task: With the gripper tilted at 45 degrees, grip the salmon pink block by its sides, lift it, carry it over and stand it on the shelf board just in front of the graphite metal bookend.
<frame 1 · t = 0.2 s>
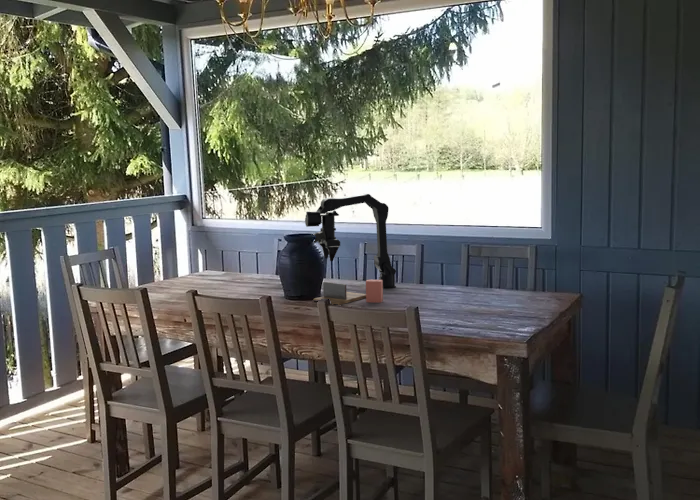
hand: (328, 259, 321), 15 cm above the table, tool pointing down, fingers open, 9 cm apart
salmon pink block: (374, 301, 298), on the table
bookend: (334, 290, 300), on the shelf board, point 4 cm above the table
shelf board: (342, 298, 304), on the table
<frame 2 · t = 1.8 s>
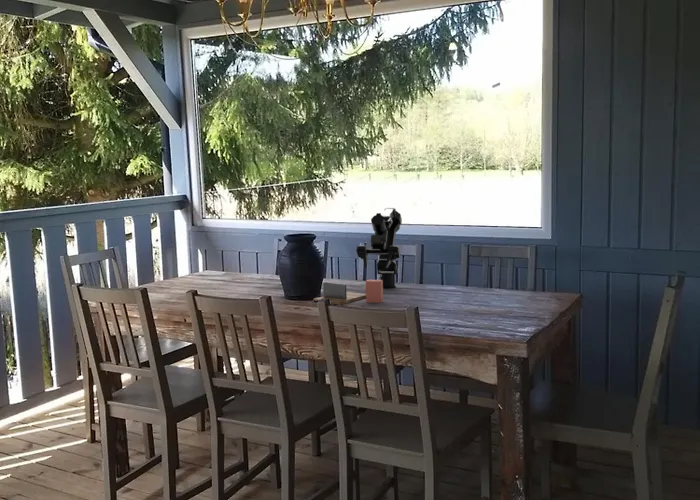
hand: (375, 267, 303), 13 cm above the table, tool tilted 45°, fingers open, 9 cm apart
nothing on the table moved.
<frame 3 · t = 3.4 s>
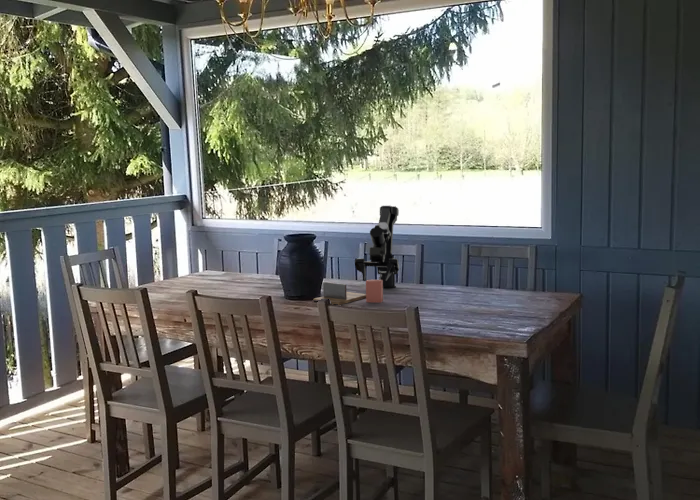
hand: (374, 280, 297), 9 cm above the table, tool tilted 45°, fingers open, 9 cm apart
nothing on the table moved.
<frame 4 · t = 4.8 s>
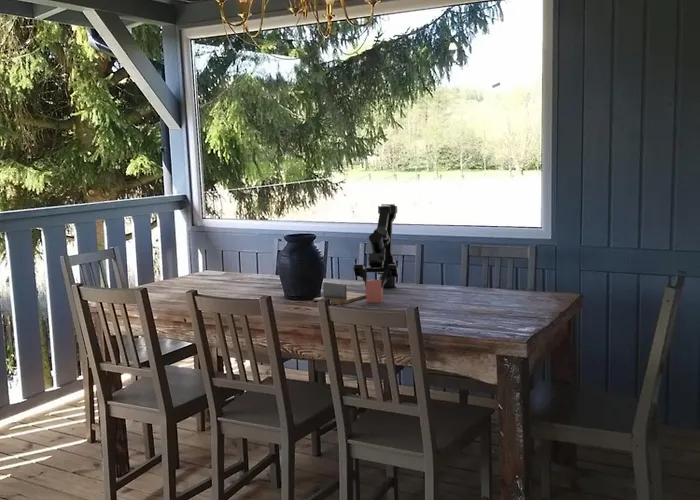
hand: (373, 286, 295), 7 cm above the table, tool tilted 45°, fingers closed on salmon pink block, 6 cm apart
salmon pink block: (374, 301, 298), on the table, touching gripper
everything else where it was.
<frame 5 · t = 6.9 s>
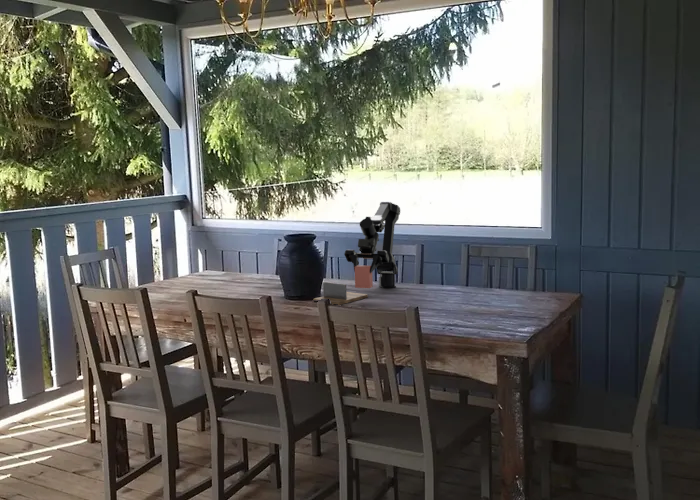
hand: (362, 272, 296), 13 cm above the table, tool tilted 45°, fingers closed on salmon pink block, 6 cm apart
salmon pink block: (363, 287, 298), point 6 cm above the table, touching gripper
everything else where it was.
when the fingers open (9 cm above the table, at t = 9.5 s): salmon pink block drops 1 cm, resting on shelf board.
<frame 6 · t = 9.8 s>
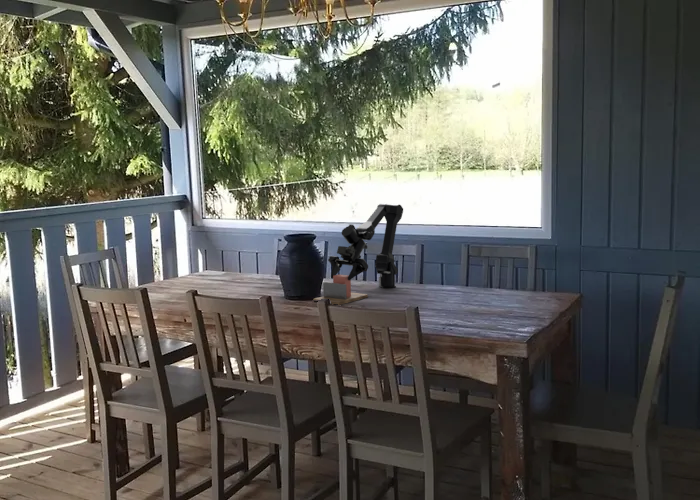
hand: (339, 278, 302), 9 cm above the table, tool tilted 45°, fingers open, 9 cm apart
salmon pink block: (342, 296, 304), point 1 cm above the table, touching shelf board
everything else where it was.
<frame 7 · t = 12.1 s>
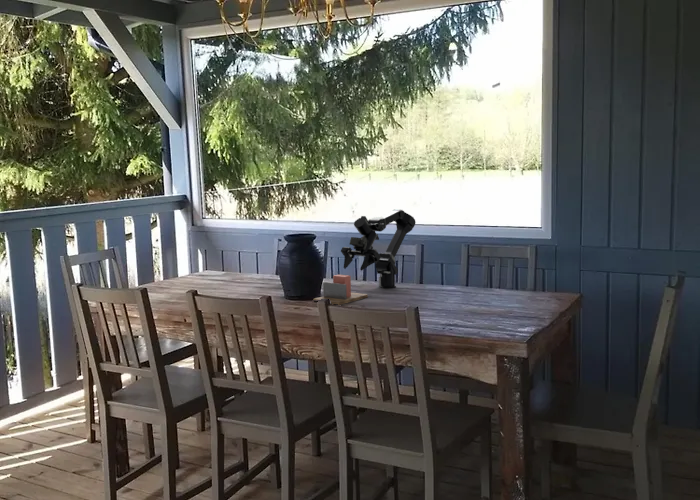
hand: (352, 269, 308), 12 cm above the table, tool tilted 45°, fingers open, 9 cm apart
nothing on the table moved.
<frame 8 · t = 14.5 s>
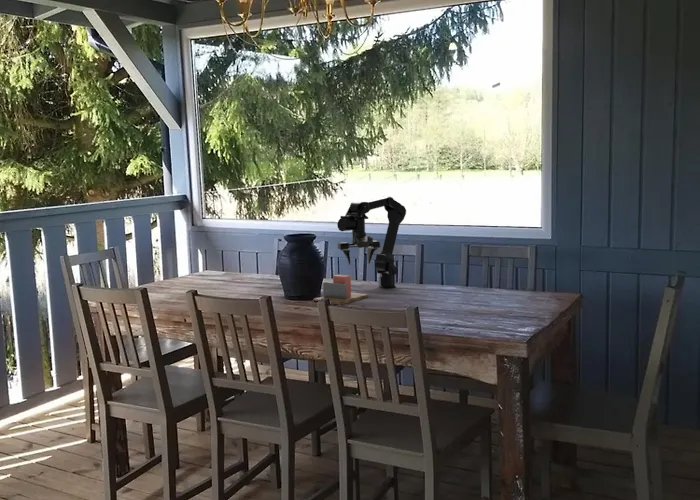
hand: (359, 263, 317), 13 cm above the table, tool pointing down, fingers open, 9 cm apart
nothing on the table moved.
at the end: salmon pink block 0.0 cm off-centre on the shelf board, point 1.2 cm above the shelf board's base; salmon pink block tilted 0°; the gripper is holding nothing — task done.
